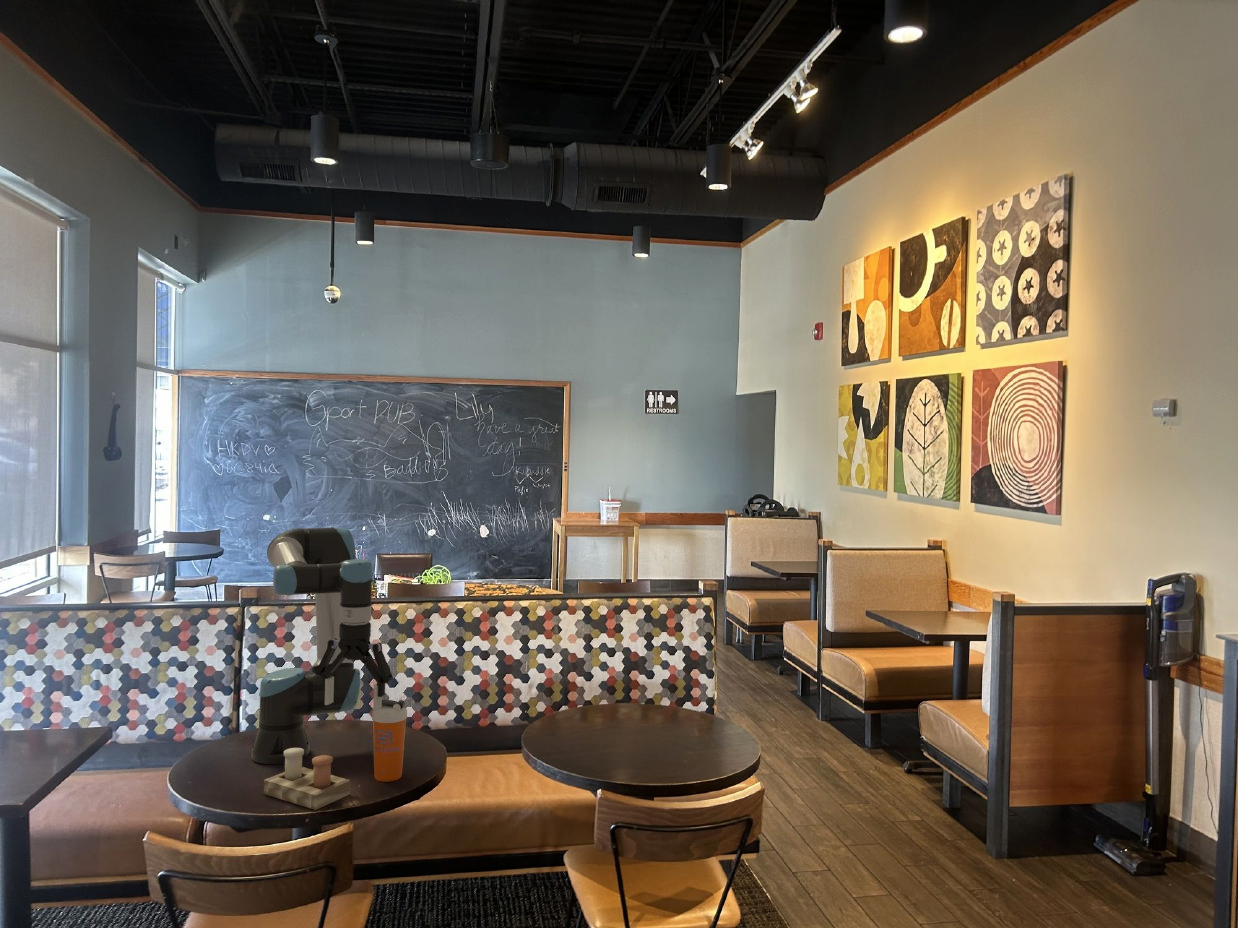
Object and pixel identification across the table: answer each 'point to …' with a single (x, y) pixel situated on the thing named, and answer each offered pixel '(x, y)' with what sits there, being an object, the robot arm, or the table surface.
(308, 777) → the socket board
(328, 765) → the plug rust
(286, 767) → the plug cream
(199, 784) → the table surface
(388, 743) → the shaker bottle
